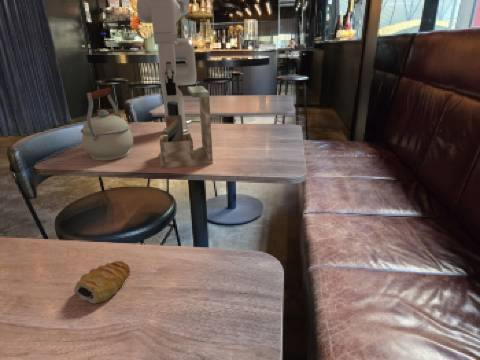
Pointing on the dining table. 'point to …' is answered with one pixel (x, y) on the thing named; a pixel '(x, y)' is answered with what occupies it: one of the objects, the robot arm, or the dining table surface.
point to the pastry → (102, 282)
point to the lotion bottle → (174, 123)
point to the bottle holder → (190, 139)
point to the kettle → (105, 131)
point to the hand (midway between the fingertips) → (171, 93)
